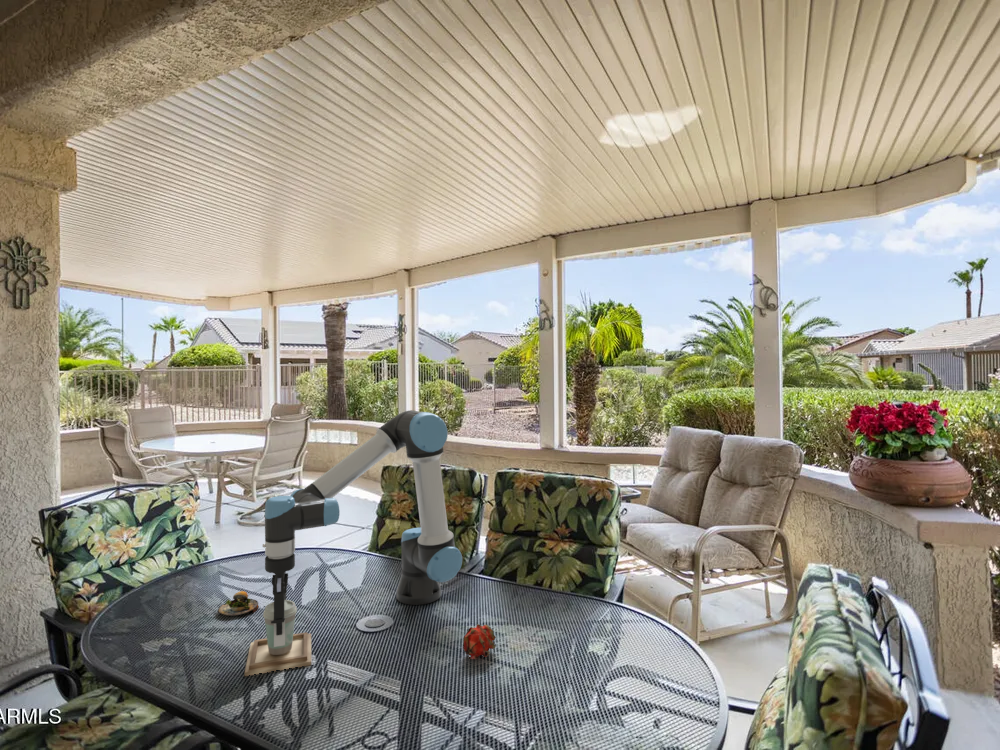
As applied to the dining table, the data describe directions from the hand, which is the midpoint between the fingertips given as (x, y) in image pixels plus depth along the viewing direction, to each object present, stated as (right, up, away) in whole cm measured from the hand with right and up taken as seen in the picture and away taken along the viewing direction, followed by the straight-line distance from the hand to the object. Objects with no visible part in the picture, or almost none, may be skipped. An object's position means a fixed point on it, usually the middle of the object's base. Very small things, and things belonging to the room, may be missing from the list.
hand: (280, 637), depth 148 cm
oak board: (0, -5, 0) cm, 5 cm away
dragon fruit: (+54, -5, 0) cm, 54 cm away
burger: (-25, -5, +27) cm, 37 cm away
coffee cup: (0, -4, 0) cm, 4 cm away
